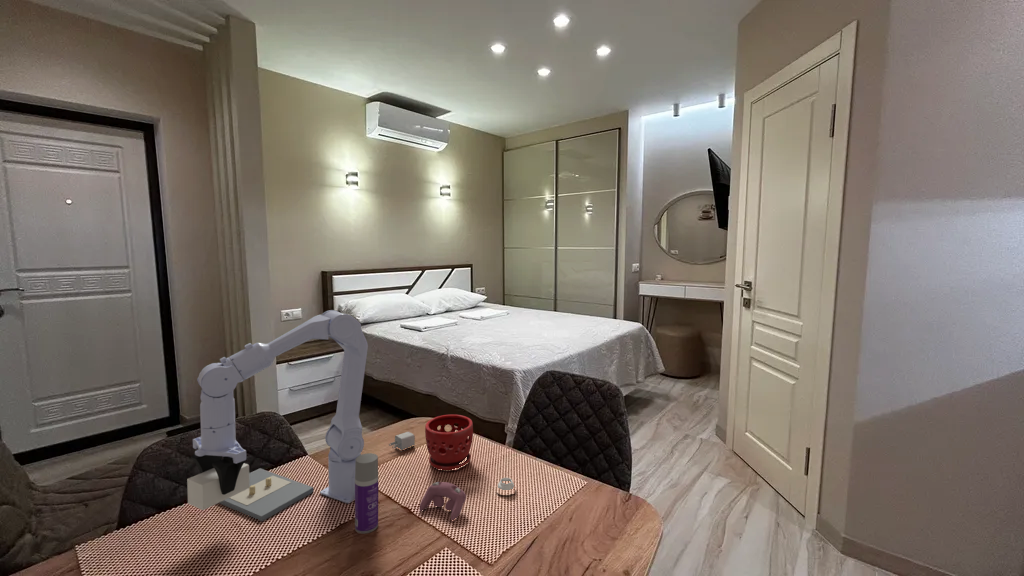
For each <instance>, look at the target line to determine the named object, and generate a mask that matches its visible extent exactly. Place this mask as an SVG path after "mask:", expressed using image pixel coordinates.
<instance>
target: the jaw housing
mask: <svg viewBox="0 0 1024 576" xmlns="http://www.w3.org/2000/svg"><path fill="white" fill-rule="evenodd" d="M249 473H250V465H249V464H248V463H246V462H244V464H243V465H242V467H241V469H240V472H239V475H238V478H237V482H236V485H235V489H234V490H233V491H231V492H229V493H227V494H225V495H223V494H222V493H221V490H220V483H219V478H218V475H217V472H216V470H215V469H214V468H213V469H210V470H208V471H205V472H203V473H200V472H199V473H198V474H196V475H194V476H191V477H188V478H187V480H186V481H187V482H186V485H187V486H186V487H187V504H188V505H190V506H192V507H195V508H197V509H199V510H201V511H205V510H206V509H209V508H211V507H214V506H215V505H217V504H220V503H219V502H221V501H223V500H225V499H227V498H230V497H232V496H234V495H236V494H238V493H240V492H242V491H244V490H246V489H248V488H250V487H249Z"/></svg>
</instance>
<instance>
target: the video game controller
mask: <svg viewBox="0 0 1024 576" xmlns="http://www.w3.org/2000/svg"><path fill="white" fill-rule="evenodd" d="M444 498H447V499H449V500H447V501H446V503H445V499H444ZM466 500H467V494H466V493H465V491H464V490H463V489H461V488H460V487H459V486H457V485H456V484H454V483H451V482H445V481H437V482H433V483H432V484H430V485H429V487H428V488H427V489H426V491H425V494H424V496H423V497H422V499H421V502H420V504H419V511H420V512H421V511H422V510H424V509H425V508H426V509H428V508H429V506H430V504H431V503H432V502H433V507H434V506H437V507H442V506H443V505H444V506H443V507H444V508H445V509H444V510H446V509H447V510H451V511H452V512H450V521H451V520H454V519H455V518H457V517H458V516H459V517H460V515H459V514H461V512H462V509H463V507H464V504H465V502H466ZM443 507H442V508H443ZM424 511H425V510H424ZM459 517H458V518H459ZM458 518H457V519H458Z"/></svg>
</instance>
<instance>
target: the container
mask: <svg viewBox="0 0 1024 576" xmlns="http://www.w3.org/2000/svg"><path fill="white" fill-rule="evenodd" d="M378 526H379V456H378V455H377V453H376V454H375V453H372V452H368V453H362V454H361V455H360V456H358V457H357V458H356V464H355V500H354V531H355V532H357V534H370V533H372V532H374V531H375V530H376V529H378Z"/></svg>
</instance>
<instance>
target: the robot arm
mask: <svg viewBox="0 0 1024 576" xmlns="http://www.w3.org/2000/svg"><path fill="white" fill-rule="evenodd" d="M329 338H331V339H333V340H334V341H335V343H336V344H338V345H339V347H341V348H342V349H343V352H344V353H343V359H342V366H341V367H342V368H341V375H340V380H339V381H340V383H339V389H338V397H337V405H336V411H335V412H336V413H335V414H334V416H332V418H331V420H330V424H329V425H330V426H329V427H328V428H327V429H328V430H327V431H326V433H325V437H324V439H325V444H327V446H328V447H329V452H328V455H327V456H328V457H327V458H328V462H327V463H328V486H327V487H325V488H323V489H321V490H320V492H319V493H320V494H321V495H322V496H326V497H328V498H331V499H333V500H338V501H340V502H343V503H345V504H350V503H352V502H353V501H355V464H356V458H357V457H358V456H360V455H362V454H361V453H362V452H363V450H364V447H365V440H364V437H363V426H362V423H361V419H360V410H361V403H362V402H361V401H362V397H363V396H362V393H363V387H364V379H365V373H366V365H367V357H368V349H369V343H368V341H367V339H366V336H365V334H364V331H363V330H362V323H360V321H358V320H357V319H356V318H355V317H354V316H352V315H351V314H349V313H343V312H340V311H338V310H334V309H330V310H326V311H324V312H323V313H321V314H318V315H314V316H312V317H311V318H309V319H308V320H306V321H304V322H302V323H300V324H299V325H297V326H296V327H294V328H293V329H291V330H289V331H287V332H285V333H284V334H282V335H280V336H278V337H276V338H274V340H271V341H270V342H267V343H263V342H255V343H251V342H249V343H247V344H245V345H244V349H241V350H239V351H237V352H236V353H233V354H232V355H230V356H228V357H226V356H223V357H221V358H219V362H212V363H210V364H208V365H205V366H204V367H203V368H202V369H201V371H200V372H199V374H198V377H197V380H196V381H197V383H198V385H199V386H200V389H201V390H200V397H199V398H200V404H199V412H200V413H199V414H200V416H199V418H200V436H198V437H196V438H192V448H193V449H194V450H195V451H194V453H193V454H192V455H191V456H190V459H191V460H192V461H193V462H194V464H195V465H196V467H197V469H198V470H199V474H200V473H203V472H205V471H208V470H210V469H213V468H214V469H215V470H216V472H217V475H218V478H219V483H220V490H221V493H222V494H223V495H225V494H227V493H229V492H231V491H233V490H234V489H235V485H236V482H237V478H238V475H239V472H240V469H241V467H242V465H243V464H244V463H246V460H247V458H248V457H247V450H246V449H244V448H243V447H242V446H241V444H240V443H239V442H238V441H237V439H236V401H235V400H236V399H235V398H234V397H235V396H234V390H235V389H236V387H237V386H238V383H243V382H244V381H246V380H247V379H249V378H252V377H253V376H255V375H256V374H259V373H260V372H262V371H264V370H265V369H268V368H269V367H271V366H273V364H274V361H275V358H276V357H278V356H280V355H282V354H283V353H286V352H288V351H290V350H291V349H294V348H296V347H298V346H300V345H302V344H304V343H306V342H308V341H310V340H329Z"/></svg>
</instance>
